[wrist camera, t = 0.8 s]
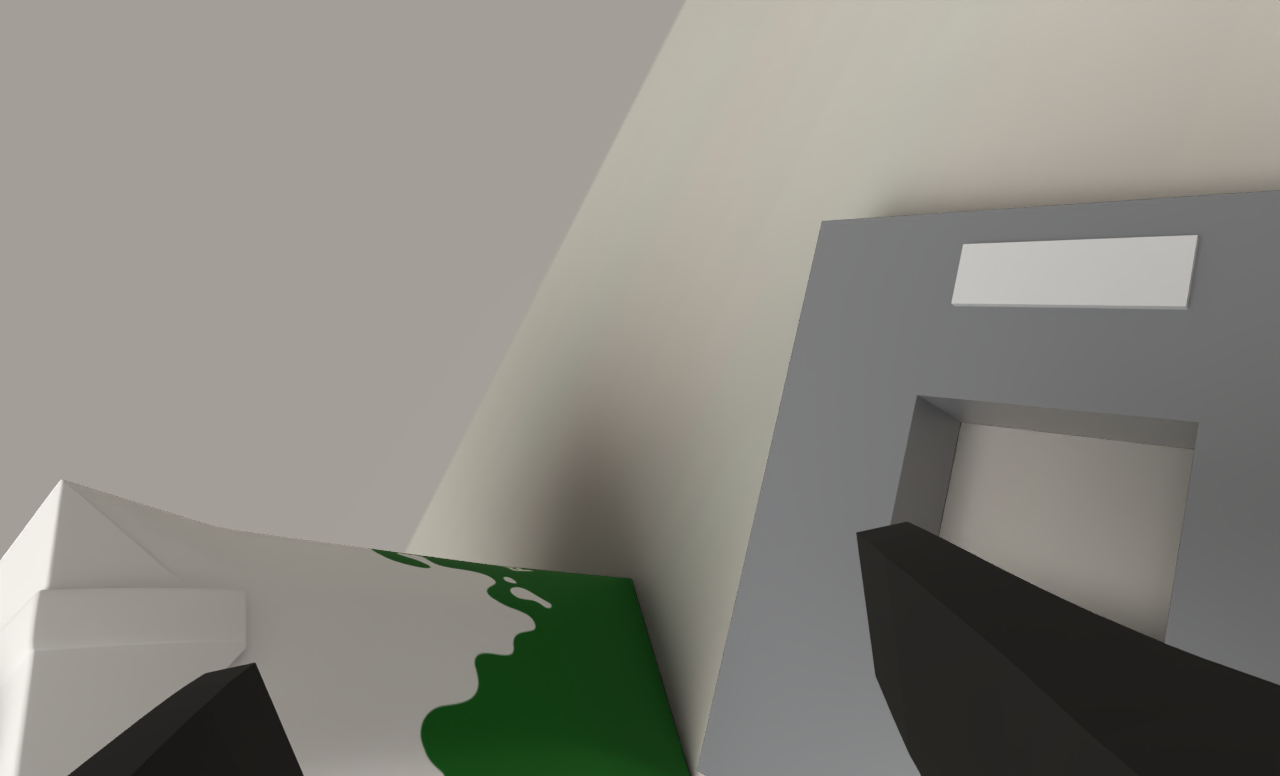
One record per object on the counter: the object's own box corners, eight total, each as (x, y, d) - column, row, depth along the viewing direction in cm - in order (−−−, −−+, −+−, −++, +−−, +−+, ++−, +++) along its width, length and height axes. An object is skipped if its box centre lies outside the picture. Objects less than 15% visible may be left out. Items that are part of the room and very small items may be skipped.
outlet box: (1497, 240, 16) (1515, 169, 14) (1403, 1088, 14) (1406, 1164, 12) (867, 258, 26) (818, 218, 24) (757, 762, 24) (692, 771, 22)
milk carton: (539, 888, 28) (-316, 1095, 14) (493, 640, 33) (-171, 608, 19) (726, 806, 24) (-197, 980, 10) (642, 539, 29) (-55, 405, 15)
